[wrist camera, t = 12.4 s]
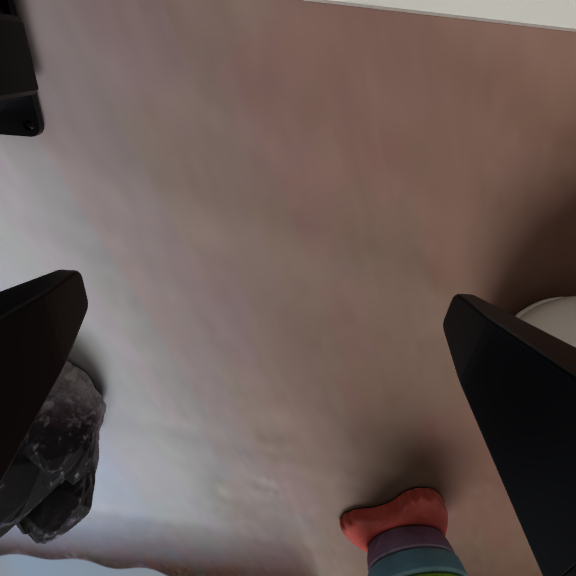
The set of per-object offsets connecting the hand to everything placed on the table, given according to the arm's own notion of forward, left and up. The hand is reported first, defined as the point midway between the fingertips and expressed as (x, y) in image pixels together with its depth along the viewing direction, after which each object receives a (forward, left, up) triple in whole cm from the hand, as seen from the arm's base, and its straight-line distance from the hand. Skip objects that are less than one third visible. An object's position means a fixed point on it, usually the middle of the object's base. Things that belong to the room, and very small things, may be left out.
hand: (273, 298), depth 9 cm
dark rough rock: (-17, -19, -12) cm, 28 cm away
